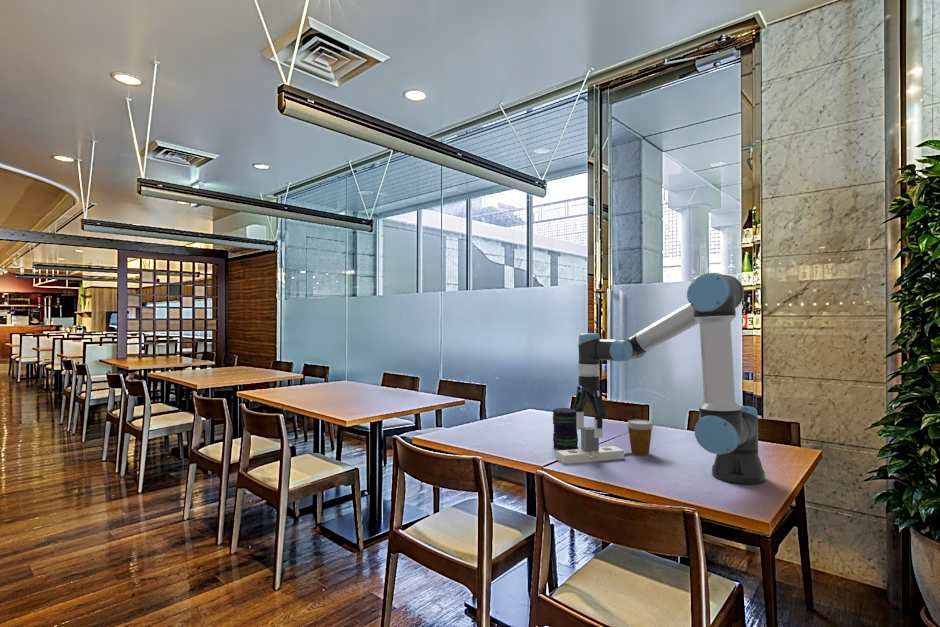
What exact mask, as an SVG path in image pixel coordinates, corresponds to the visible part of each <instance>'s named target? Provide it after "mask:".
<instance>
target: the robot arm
mask: <svg viewBox="0 0 940 627" xmlns="http://www.w3.org/2000/svg"><path fill="white" fill-rule="evenodd" d="M744 297H745V288H744V286H743V284H742V282H741V281H740V280H739V279H738V278H736V277H734V276H732V275H729V274H722V273H719V272H707V273H702V274H698V275H697V276H696V277H694V278H693V279H692V281H690V283H689V285H688V286H687V290H686V299H687V302H688V303H687V304H685V305H683V306H681V307H679V308H678V309H676V310H675V311H673V312H671V313H670V314H667V315H666V316H664V317H662V318H661V319H659V320H657V321H655V322H653V323H652V324H650V325H648V326H647V327H645V328H644V329H642V330H640V331H638V332H637V333H635V334H633V335H632V336H630V337H628V338H619V339H618V338H617V339H610V338H609V339H607V338H605V339H604V338H601V337H600V334H599V333H595V332H594V333H592V332H588V333H587V332H586V333H585V332H583V333H580V334H579V336H578V344H577V347H578V365H577V366H578V375H579V376H578V386H577V387H576V394H575V398H574V403H573V407H572V409H575V410H576V429H577V431H578V430H581V428H582V427H585V412H584V408H585V407H586V404H587V402H588V403H589V404H590V405H591V409H592V411H593V414H594V416H595V417H594V418H593V420H594V423H593V424H594V425H593V427H594V437H595V438H599V439H600V438H603V420H604V419H607V413H606V409H605V404H604V400H603V396H602V390H597V388H598V387H599V386H600V385H601V384H600V381H601V380H600V369H601V367H600V360H601V361H611V362H612V361H613V362H619V363H620V362H628V361H630V360H635V359H639V358H642V357H643V356H645V355H646V354H647V352H650V350H653V349H654V348H656V347H658V346H660V345H662V344H663V343H665V342H667V341H670V340H671V339H673V338H675V337H676V336H678V335H681V334H682V333H684V332H686V331H687V330H689V329H691V328H694V327H695V326H697V325H699V336H700V337H699V338H700V353H701V354H700V356H701V370H702V371H701V373H702V388H703V391H702V392H703V401H702V402H701V403H700V405H699V406H698V414H699V417H698V421H697V422H696V424H695V426H694V429H693V430H694V436H695V440H696V441H697V443H698V444H699V445H700V446H701V447H702V448H703V449H704V450H705V451H707V452H709V453H711V454H714V455H715V458H714V462H713V465H712V466H711V475H712V476H713V478H716V479H718V480H721V481H724V482H727V483H728V482H729V483H733V484H740V485H742V484H743V485H757V484H758V485H759V484H762V483H765V481H766V471H765V470H764V469H763V468H764V467H763V465H762V460H761V459H760V456H759V423H758V422H759V416H758V410H757V409H756V408H755V407H753V406H749V405H746V406H745V405H740V404H738V403H737V402H736V393H735V392H736V390H735V375H734V373H735V372H734V360H733V341H732V323H731V322H732V321H733V320H734V319H735V318H736V317H737V313H736V308H738V307H739V306H740V305H741V304H742V302H743V300H744Z"/></svg>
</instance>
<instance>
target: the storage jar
mask: <svg viewBox="0 0 940 627" xmlns="http://www.w3.org/2000/svg"><path fill="white" fill-rule="evenodd" d="M552 424H553V434H552V436H553V437H552V441H553V442H552V444H553V447H552V448H553V449H555V450H556V451H560V450H572V449H579V448H578V447H579V446H578V444H579V438H578V437H579V436H578V430H577V429H576V410H575V409H573V408H569V407H568V408H567V407H559V408H558V407H557V408H553V409H552Z"/></svg>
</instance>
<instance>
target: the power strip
mask: <svg viewBox="0 0 940 627" xmlns="http://www.w3.org/2000/svg"><path fill="white" fill-rule="evenodd" d="M634 455H635V454H634V453H632V452H625V450H624V449H622V448H620V447H617V446H615V445H610V446H601V447H599V451H592V456H590V453H588V452H586V451H584V450H582V449H581V448H578V449H572V450H555V460H557V461H558V462H560V463H562V464H563V465H571V464H581V463H590V462H591V463H592V462H601V461H602V462H604V461H611V460H612V461H615V460H623V459H625V456H634Z"/></svg>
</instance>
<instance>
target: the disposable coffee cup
mask: <svg viewBox="0 0 940 627" xmlns="http://www.w3.org/2000/svg"><path fill="white" fill-rule="evenodd" d="M626 426H627V429H628V436H629V443H630V444H629V445H630V450H631V452H630V453H634V455H636V456H649V455H650V449H651V448H650V447H651V440H652V430H653V428H654V425H653V422H652V421H650V420H646V419H629V420H628V421H627V423H626Z"/></svg>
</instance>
